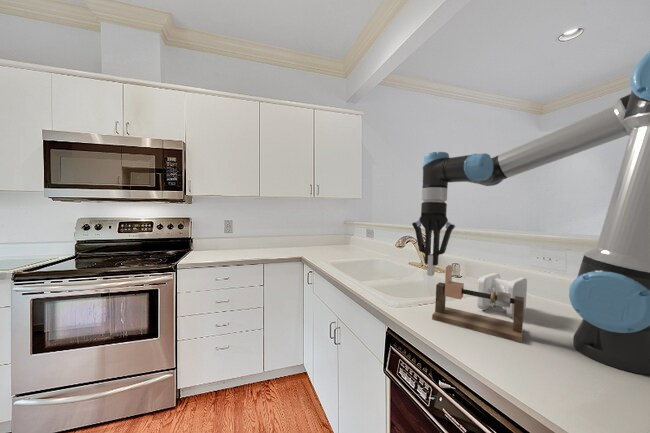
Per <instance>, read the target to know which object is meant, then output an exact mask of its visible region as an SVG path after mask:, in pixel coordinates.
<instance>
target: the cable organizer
mask: <svg viewBox="0 0 650 433" xmlns="http://www.w3.org/2000/svg"><path fill="white" fill-rule="evenodd" d="M477 284H478V285H477V287H478V288H477V292H482V293H487V294H491V291H492V292H496V295H497V293H498V292H504V293H509V294H511V298H514V299H515V296H518V297H524V308H523V312H525V309H526V307H527V291H528V288H527V287H528V279H527V277H521V276H520V277H518V278H515V279H513V280H506V279H501V275H500V274H499V273H497V272H492V273H488V274H485V275H482V276H481V277H479V278H478V279H477ZM494 306H495V307H498V308H501V309H502V311H503V312H505V311H506V315H507V316H508V317H509V318H511V319H514V304H513V303H510V307H506V306H501V305H497V300H495V303H492V302H491V299H487V298H482V297H477V309H480V310H482V311H485V310H487V309H489V308H491V309H494Z"/></svg>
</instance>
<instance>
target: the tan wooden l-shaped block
mask: <svg viewBox="0 0 650 433" xmlns="http://www.w3.org/2000/svg"><path fill="white" fill-rule="evenodd" d="M444 283H445V296H446V297H447V298H451V299H458V300H462V299H463V297H464V294H462V289H465V288H464V287H465V286H464V282H457V281H453V265H451V264H449V265H448V264H447V266H445V281H444Z"/></svg>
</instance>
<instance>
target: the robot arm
mask: <svg viewBox="0 0 650 433" xmlns="http://www.w3.org/2000/svg"><path fill="white" fill-rule="evenodd" d="M629 87H630V89H631V91H630V93H629V94H628V95H625V96H623V97H621V98H618V99H617V100H616V102H615V103H614V104H613V105H612V106H611V107H608V108H605V109H604V110H601V111H599V112H597V113H593V114H592V115H590V116H588V117H585V118H582V119H579V120H578V121H575V122H573V123H571V124H569V125H565V126H564V127H560V128H559V129H556V130H554V131H552V132H550V133H546V134H545V135H543V136H541V137H538V138H535V139H533V140H531V141H529V142H526V143H524V144H522V145H519V146H517V147H514V148H512V149H510V150H507V151H504V152H501V153H500V154H498V155H496V156H494V157H491V155H490V154H489V153H472V154H468V155H467V154H466V155H461V156H454V157H450V155H449V153H448V152H445V151H433V152H432V151H431V152H428V153H426V154H425V155H424V156H423V165H422V186H421V187H422V188H421V201H422V203H421V208H420V217H419V220H417V221H415V222H412V224H411V225H412V227H413V228H414V231H415V236H416V241H417V246H418V252H420V253H423V254H424V264H425V265H427V268H426V269H427V270H426V271H427V272H426V275H427V276H429V277H433V276H434V275H435V270H436V269H435V268H436V266H438V265H439V256H440V255H443V254H446V253H445V252H446V251H447V246H448V244H449V240H450V238H451V235H452V231H453V230H454V229H455V228H456V225H455V224H453V223H451V222H450V221H449V219H448V217H447V208H448V207H447V206H448V204H447V202H446V201H448V186H449V183H466V182H467V183H471V184H472V183H473V184H477V185H481V186H485V187H493V186H497V185H500V183H502V182H503V181H504V180H506V179H508V178H511V177H514V176H517V175H519V174H522V173H525V172H528V171H531V170H534V169H537V168H540V167H542V166H545V165H547V164H550V163H553V162H557V161H559V160H563V159H564V158H568V157H570V156H573V155H576V154H578V153H582V152H583V151H584V152H585V151H587V150H590V149H592V148H595V147H599V146H601V145H604V144H607V143H610V142H612V141H615V140H618V139H620V138H623V137H628V136H629V138H628V140H627V143H626V148H625V151H624V153H623V154H624V155H623V157H622V161H621V164H620V168H619V171H618V173H617V178H616V180H615V184H614V188H613V191H612V194H611V198H610V201H609V205H608V208H607V212H606V215H605V218H604V221H603V225H602V228H601V232H600V235H599V238H598V241H597V243H596V244H597V245H596V247H595V248H593V249H591V250H589V251H587V252H586V251H585V252H584V254H583V257H582V260H581V264H580V267H579V270H578V274H577V277H576V278H575V279H574V280H573V281H572V283H571V284H570V285H569V288H568V289H569V290H568V291H569V292H568V297H569V302H570V305H571V306H572V308H573V310H575V312H576V313H577V314H578V315H579V316H580V317H581V318H582V320H581V322H580V323H579V326H578V327H577V329H576V331H575V332H574V334H573V338H572V339H573V340H572V346H573V347H574V348H575V350H577V352H579V353H581V354H582V355H585V356H586V357H588V358H590V359H593V360H594V361H597V362H599V363H602V364H605V365H607V366H610V367H613V368H617V369H620V370H623V371H626V372H627V371H628V372H631V373H636V374H641V375H645V376H646V375H647V376H650V51H648V52H647V53H646V54H645V55H644V56H642V58H640V60H639V61H638V62H637V64H636V65H635V67H634V68H633V71H632V73H631V75H630V77H629ZM421 227H423V228H424V234H425V236H424V237H423V233H422V228H421ZM444 227H445V232H444V233H443V234H444V236H443V238H442V241H441V244H440V238H441V236H440V235H441V230H442V229H443V228H444ZM432 234H433V243H432ZM432 244H433V246H432Z"/></svg>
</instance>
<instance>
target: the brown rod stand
mask: <svg viewBox="0 0 650 433" xmlns="http://www.w3.org/2000/svg"><path fill="white" fill-rule="evenodd" d="M462 294H463V295H466V296H467V295H468V296H472V297H477V298H478V297H482V298H487V299H491V302H492V303H495V300H497V305H501V306H506V307H510V303H513V304H514V318H513V320H512V321H510V320H509V321H508V320H503V319H501V318H500V319H499V318H496V317H490V316H487V315H482V314H479V313H474V312H470V311H465V310H461V309H457V308H452V307H447V306H446V296H445V282H440V281H439V282H438V283H437V284H436V287H435V306H434V309H435V310H434V312H433V313H432V316H431V320H433V321H437V322H440V323H445V324H448V325H452V326H456V327H460V328H463V329H466V330H472V331H475V332H479V333H483V334H486V335H490V336H493V337H497V338H502V339H505V340H509V341H513V342H517V343H520V344H522V343H523V326H524V324H523V323H524V322H523V321H524V311H523V308H524V297H518V296H515V299H514V298H511V294H509V293H504V292H498V293H497V295H496V292H492V291H491V294H487V293H482V292H478V291H476V290H472V289H471V290H469V289H465V288H464V289H462Z"/></svg>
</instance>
